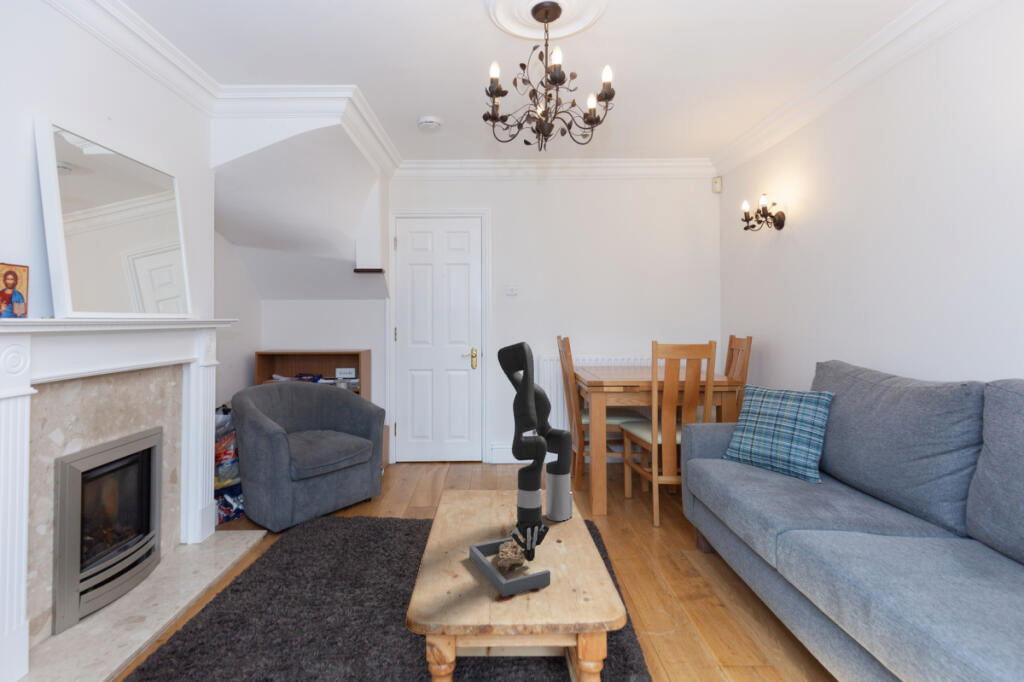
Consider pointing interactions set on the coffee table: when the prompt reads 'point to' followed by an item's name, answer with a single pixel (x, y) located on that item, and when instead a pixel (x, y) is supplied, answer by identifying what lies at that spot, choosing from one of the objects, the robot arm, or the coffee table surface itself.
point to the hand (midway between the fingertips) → (529, 560)
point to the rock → (510, 556)
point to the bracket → (496, 578)
